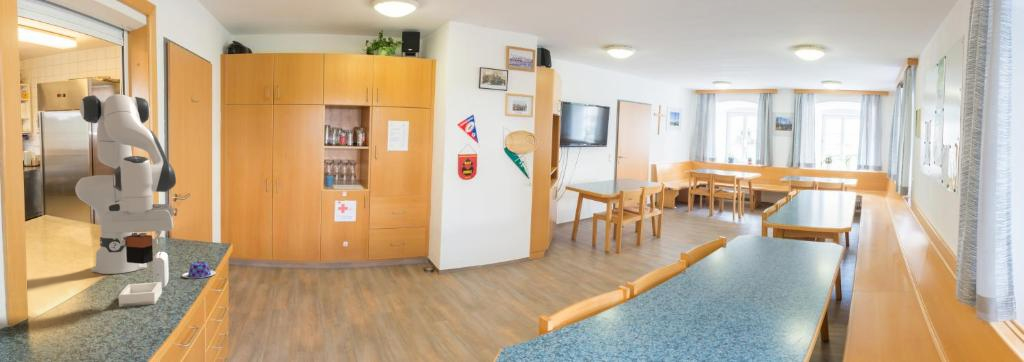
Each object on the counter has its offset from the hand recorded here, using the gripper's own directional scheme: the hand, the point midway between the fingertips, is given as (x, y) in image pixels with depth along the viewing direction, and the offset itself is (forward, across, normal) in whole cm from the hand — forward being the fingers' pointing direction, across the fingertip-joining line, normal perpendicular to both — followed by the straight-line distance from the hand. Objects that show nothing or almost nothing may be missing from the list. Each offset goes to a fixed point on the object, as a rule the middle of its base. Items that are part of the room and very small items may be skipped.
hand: (139, 244), depth 186 cm
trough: (+19, 0, 0) cm, 19 cm away
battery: (+6, 0, 0) cm, 6 cm away
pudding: (+20, -14, -28) cm, 38 cm away
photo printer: (+20, -3, -18) cm, 27 cm away
